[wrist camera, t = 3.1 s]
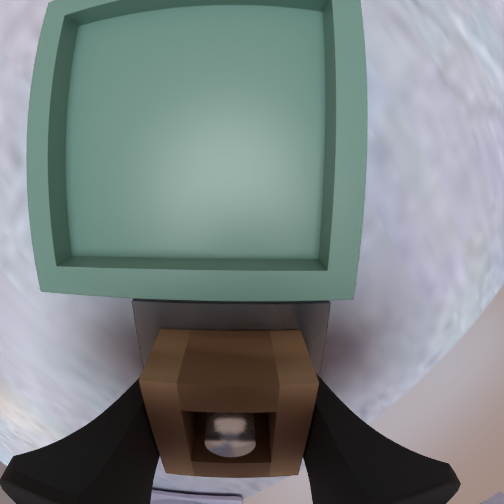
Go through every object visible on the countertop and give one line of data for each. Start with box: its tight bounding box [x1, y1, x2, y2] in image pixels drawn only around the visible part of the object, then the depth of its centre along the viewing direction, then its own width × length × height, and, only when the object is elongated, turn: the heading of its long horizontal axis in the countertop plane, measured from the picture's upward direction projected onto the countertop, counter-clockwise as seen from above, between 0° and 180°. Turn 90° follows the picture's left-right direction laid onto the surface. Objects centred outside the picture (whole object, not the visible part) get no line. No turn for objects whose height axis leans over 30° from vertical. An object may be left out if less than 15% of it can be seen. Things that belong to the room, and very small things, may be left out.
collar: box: [139, 328, 319, 478], centre depth 10 cm, size 5×5×3 cm
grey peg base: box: [132, 298, 331, 457], centre depth 10 cm, size 7×7×4 cm
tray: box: [27, 0, 367, 301], centre depth 9 cm, size 11×11×2 cm
